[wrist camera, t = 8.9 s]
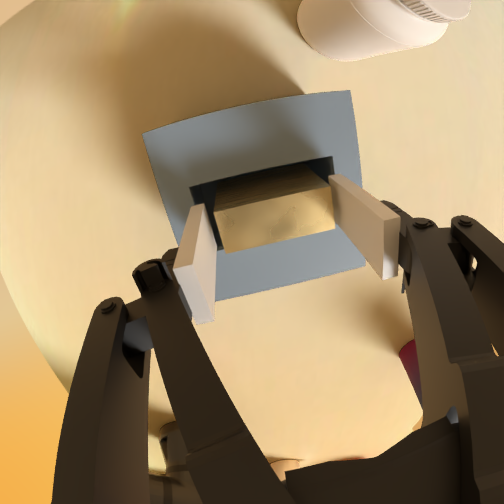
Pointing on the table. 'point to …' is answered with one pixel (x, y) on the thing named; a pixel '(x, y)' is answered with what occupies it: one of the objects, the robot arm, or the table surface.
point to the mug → (284, 467)
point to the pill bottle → (375, 25)
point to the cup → (412, 367)
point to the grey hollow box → (253, 161)
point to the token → (272, 207)
